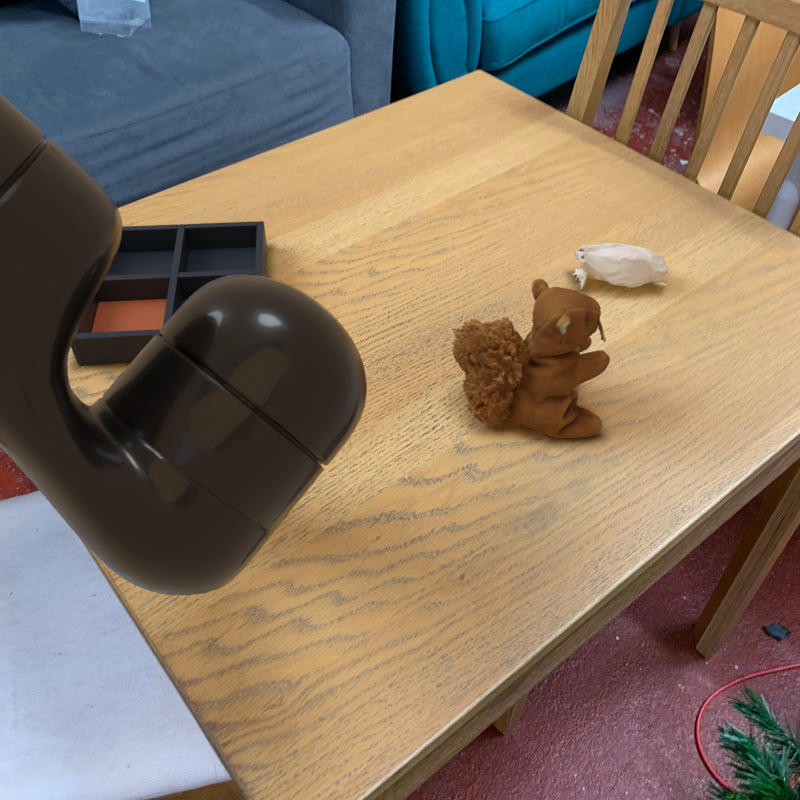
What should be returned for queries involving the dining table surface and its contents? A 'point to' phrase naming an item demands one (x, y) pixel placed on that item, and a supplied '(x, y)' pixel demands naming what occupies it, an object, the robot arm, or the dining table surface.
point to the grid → (161, 282)
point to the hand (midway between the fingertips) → (208, 405)
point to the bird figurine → (620, 265)
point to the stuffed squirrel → (534, 365)
